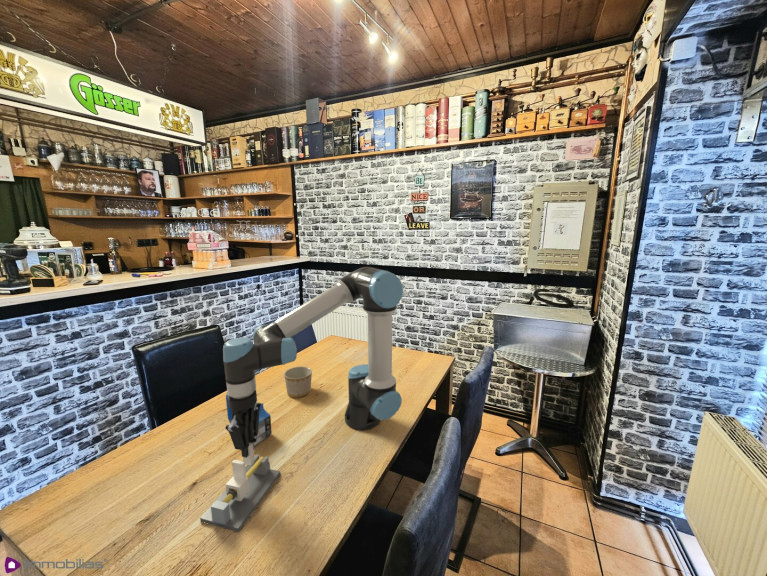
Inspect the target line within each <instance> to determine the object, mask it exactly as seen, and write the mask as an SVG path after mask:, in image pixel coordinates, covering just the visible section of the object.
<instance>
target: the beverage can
mask: <svg viewBox="0 0 767 576" xmlns="http://www.w3.org/2000/svg"><path fill="white" fill-rule="evenodd" d="M225 402H226V413H227V419H228V421H230V422H231V421H232V418H231V416H232V411H231V409H230V408H229V405H228V393H227V392H226V395H225Z"/></svg>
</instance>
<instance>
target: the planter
mask: <svg viewBox="0 0 767 576" xmlns="http://www.w3.org/2000/svg"><path fill="white" fill-rule="evenodd" d="M312 373H313V372H312V369H311V368H309V367H308V366H295V367H291V368H289V369H287V370H285V372H284V374H283V377H284V380H285V381H284V382H285V388H286V389H285V390H286V394H287V395H288V396H289V397H291V398H297V399H299V398H303V397H306V396H307V395H309V394H310V393H311V390H312V389H311V388H312V375H313V374H312Z"/></svg>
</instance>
